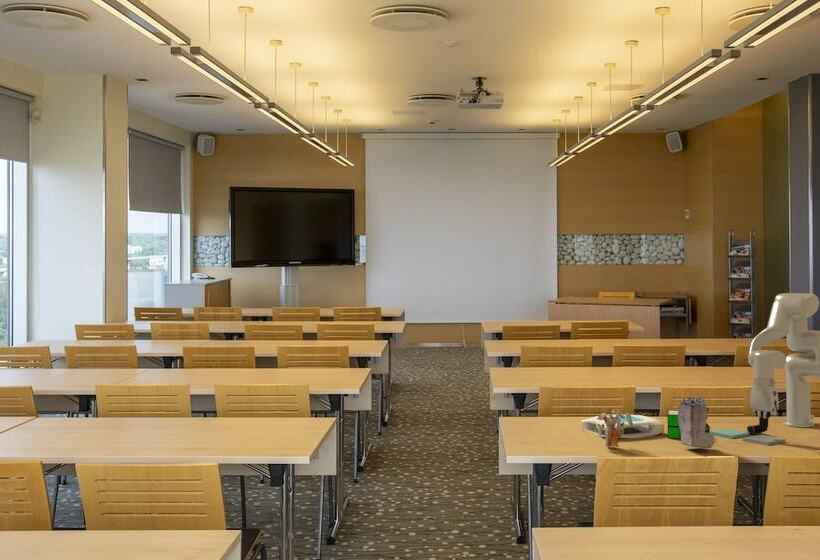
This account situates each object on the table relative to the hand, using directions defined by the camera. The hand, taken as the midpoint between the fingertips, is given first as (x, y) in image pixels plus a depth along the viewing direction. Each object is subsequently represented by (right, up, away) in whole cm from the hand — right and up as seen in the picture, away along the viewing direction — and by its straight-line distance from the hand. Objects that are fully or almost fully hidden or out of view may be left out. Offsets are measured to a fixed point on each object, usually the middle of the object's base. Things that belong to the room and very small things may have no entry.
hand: (763, 427), depth 325 cm
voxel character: (-63, -6, -11) cm, 64 cm away
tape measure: (+6, -5, +13) cm, 15 cm away
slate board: (0, -6, 0) cm, 6 cm away
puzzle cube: (-30, -6, +10) cm, 32 cm away
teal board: (-8, -6, +14) cm, 17 cm away
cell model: (-31, -6, -12) cm, 34 cm away
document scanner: (-52, -6, +19) cm, 56 cm away
